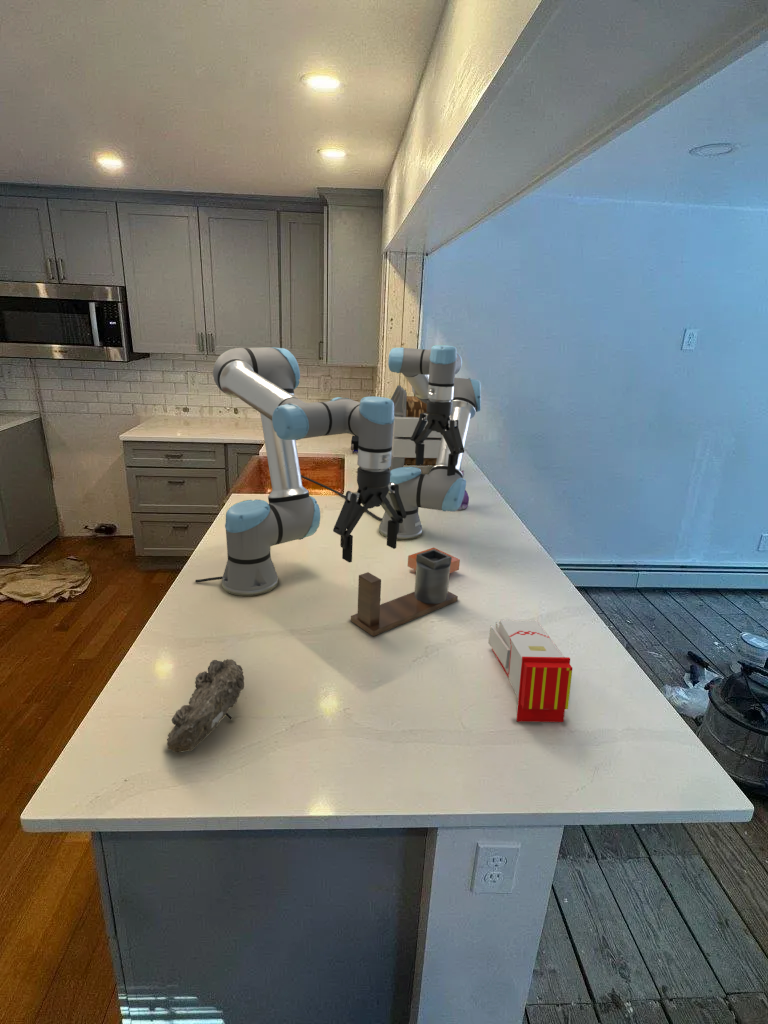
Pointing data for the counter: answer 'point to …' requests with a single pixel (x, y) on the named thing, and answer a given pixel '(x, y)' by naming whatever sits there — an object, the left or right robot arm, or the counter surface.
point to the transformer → (410, 432)
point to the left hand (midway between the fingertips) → (369, 553)
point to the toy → (533, 669)
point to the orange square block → (454, 561)
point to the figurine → (464, 498)
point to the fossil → (206, 705)
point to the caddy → (408, 607)
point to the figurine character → (354, 443)
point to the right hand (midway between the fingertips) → (434, 469)
